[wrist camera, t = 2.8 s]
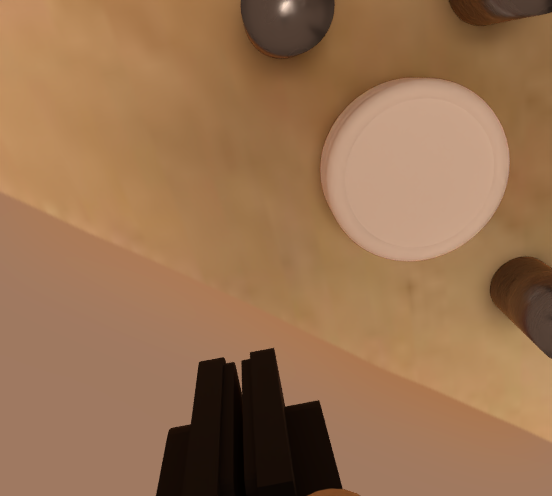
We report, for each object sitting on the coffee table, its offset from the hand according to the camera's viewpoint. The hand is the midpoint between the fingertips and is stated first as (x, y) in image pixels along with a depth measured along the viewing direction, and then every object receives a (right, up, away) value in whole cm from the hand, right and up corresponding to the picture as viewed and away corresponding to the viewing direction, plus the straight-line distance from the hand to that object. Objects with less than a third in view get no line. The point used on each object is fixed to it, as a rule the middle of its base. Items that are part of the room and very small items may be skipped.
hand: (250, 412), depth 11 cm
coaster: (+8, +9, +19) cm, 23 cm away
